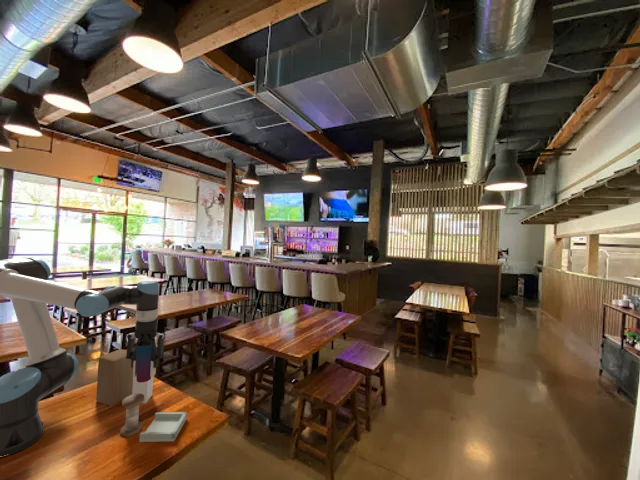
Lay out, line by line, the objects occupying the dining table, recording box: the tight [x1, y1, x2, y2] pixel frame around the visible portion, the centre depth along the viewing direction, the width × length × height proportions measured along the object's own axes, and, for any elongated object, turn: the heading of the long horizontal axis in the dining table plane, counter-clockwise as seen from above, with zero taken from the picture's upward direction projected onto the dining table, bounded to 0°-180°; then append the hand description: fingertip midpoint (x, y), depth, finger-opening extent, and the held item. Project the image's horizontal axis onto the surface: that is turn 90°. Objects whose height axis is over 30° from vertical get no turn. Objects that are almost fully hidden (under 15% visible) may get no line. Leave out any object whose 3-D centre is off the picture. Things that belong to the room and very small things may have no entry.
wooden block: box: [95, 348, 133, 407], centre depth 119 cm, size 10×10×20 cm
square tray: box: [139, 411, 188, 443], centre depth 103 cm, size 12×12×3 cm
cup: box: [135, 341, 156, 383], centre depth 108 cm, size 7×7×15 cm
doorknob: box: [119, 394, 144, 438], centre depth 102 cm, size 7×7×12 cm
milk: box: [132, 376, 154, 404], centre depth 120 cm, size 6×6×22 cm
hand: (144, 375), depth 109 cm, fingers closed on cup, 6 cm apart
